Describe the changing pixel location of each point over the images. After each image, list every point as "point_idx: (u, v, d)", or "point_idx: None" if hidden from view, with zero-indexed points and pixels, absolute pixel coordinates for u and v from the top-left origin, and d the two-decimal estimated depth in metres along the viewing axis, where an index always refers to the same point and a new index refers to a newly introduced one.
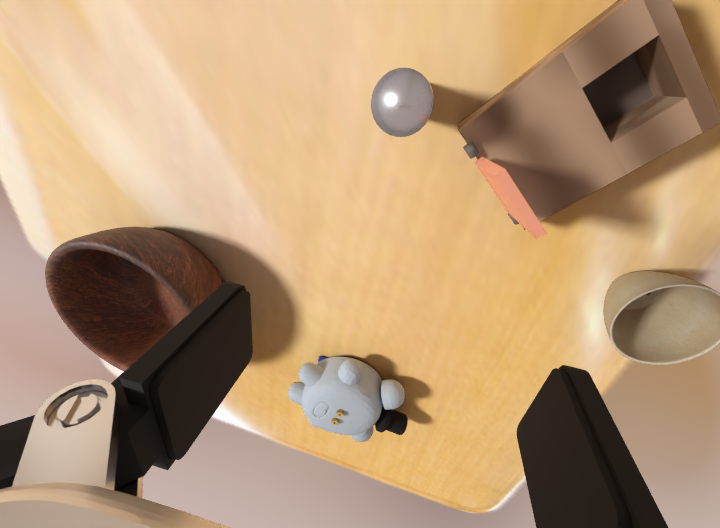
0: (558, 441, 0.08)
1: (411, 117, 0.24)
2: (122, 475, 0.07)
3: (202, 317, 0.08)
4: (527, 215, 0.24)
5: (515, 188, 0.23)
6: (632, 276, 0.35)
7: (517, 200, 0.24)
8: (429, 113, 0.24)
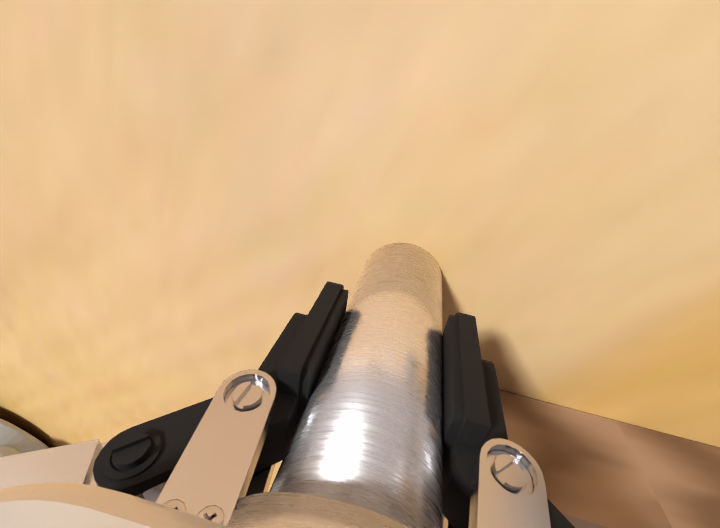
0: (442, 372, 0.09)
1: None
2: (273, 456, 0.08)
3: (322, 314, 0.09)
4: None
5: None
6: None
7: None
8: None
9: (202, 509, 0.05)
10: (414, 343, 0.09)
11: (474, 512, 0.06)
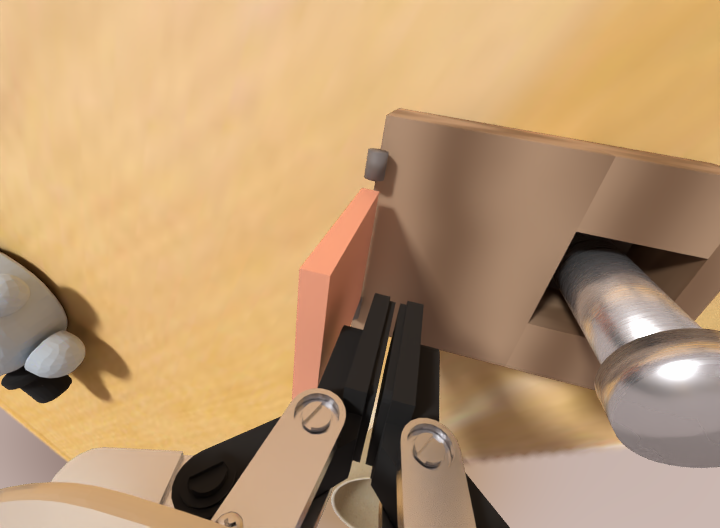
0: (388, 358, 0.09)
1: (679, 443, 0.10)
2: (337, 477, 0.07)
3: (377, 328, 0.09)
4: (304, 378, 0.10)
5: (319, 325, 0.09)
6: None
7: (306, 345, 0.09)
8: (707, 465, 0.11)
9: None
10: (651, 280, 0.14)
11: (400, 500, 0.06)
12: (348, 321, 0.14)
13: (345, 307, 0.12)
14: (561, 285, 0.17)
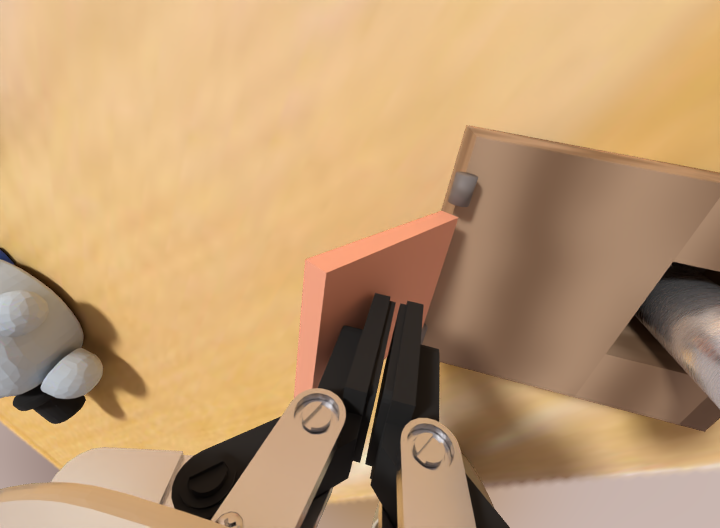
0: (388, 358, 0.09)
1: None
2: (337, 477, 0.07)
3: (377, 328, 0.09)
4: (304, 371, 0.10)
5: (316, 321, 0.09)
6: None
7: (306, 338, 0.10)
8: None
9: None
10: None
11: (400, 500, 0.06)
12: (390, 342, 0.14)
13: None
14: (645, 315, 0.16)
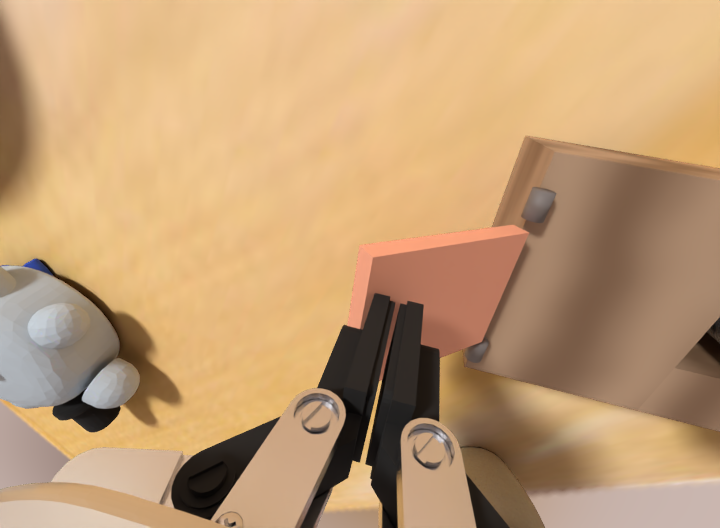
0: (388, 358, 0.09)
1: None
2: (337, 476, 0.07)
3: (377, 328, 0.09)
4: None
5: (362, 300, 0.10)
6: (495, 471, 0.26)
7: (354, 314, 0.11)
8: None
9: None
10: None
11: (400, 500, 0.06)
12: (440, 344, 0.14)
13: (426, 319, 0.13)
14: (717, 327, 0.16)
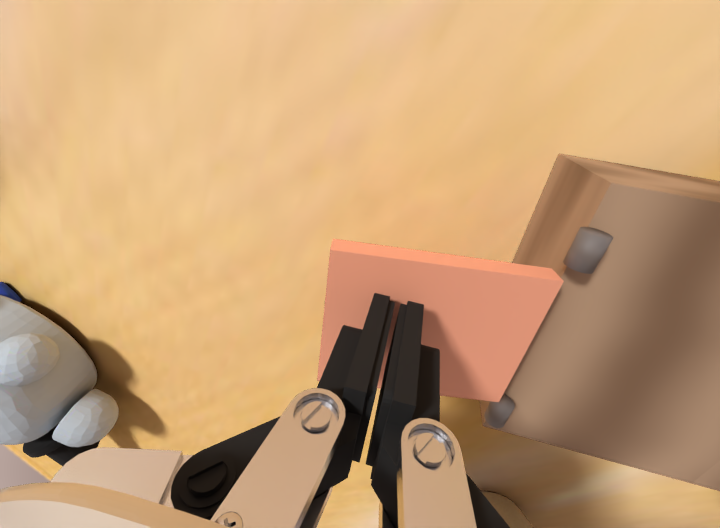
0: (388, 358, 0.09)
1: None
2: (337, 476, 0.07)
3: (376, 328, 0.09)
4: None
5: (326, 291, 0.11)
6: (512, 525, 0.23)
7: None
8: None
9: None
10: None
11: (401, 500, 0.06)
12: None
13: None
14: None
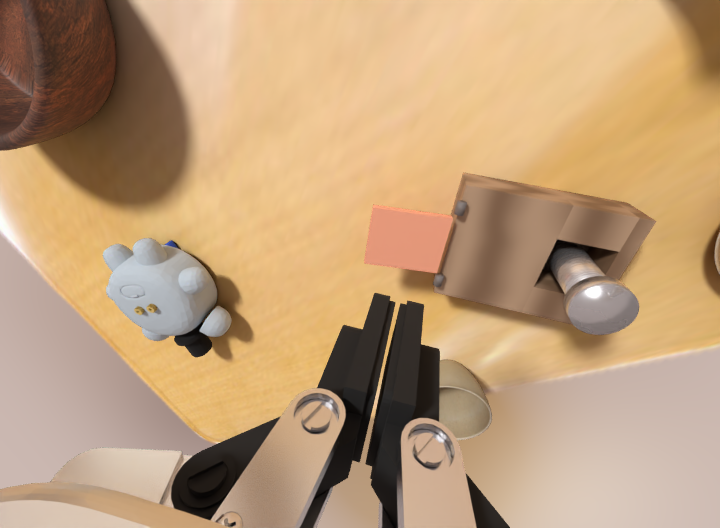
0: (388, 358, 0.09)
1: (596, 323, 0.26)
2: (337, 477, 0.07)
3: (377, 328, 0.09)
4: (367, 243, 0.32)
5: (370, 223, 0.31)
6: (458, 368, 0.43)
7: (369, 230, 0.32)
8: (609, 332, 0.26)
9: None
10: (591, 260, 0.29)
11: (400, 501, 0.06)
12: (409, 261, 0.33)
13: (399, 243, 0.32)
14: (551, 266, 0.32)
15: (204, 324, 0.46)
